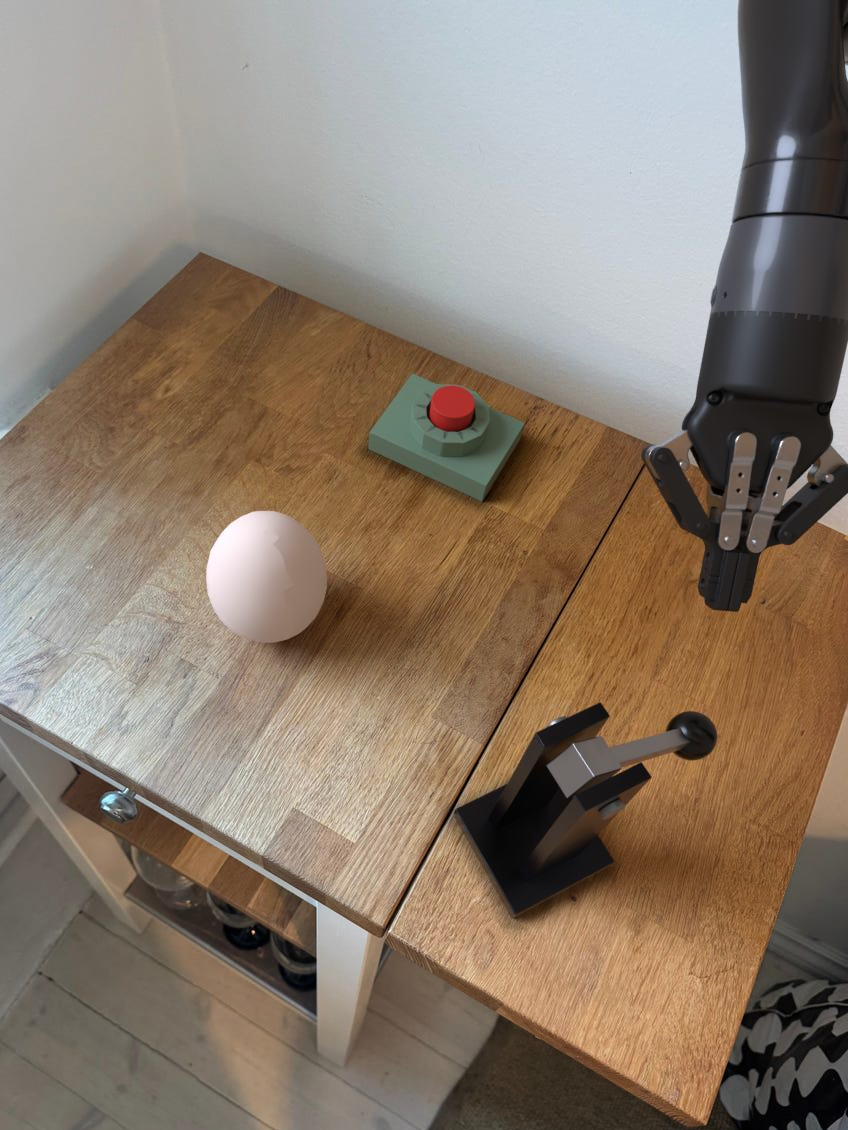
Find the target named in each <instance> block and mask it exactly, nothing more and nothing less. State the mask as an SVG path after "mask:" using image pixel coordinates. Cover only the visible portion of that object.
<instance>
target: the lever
mask: <svg viewBox="0 0 848 1130" xmlns="http://www.w3.org/2000/svg"><path fill="white" fill-rule="evenodd" d="M717 743H718V731H717V728H716V725H715V723H714V722H713V721H712V720H711V718H709V716H707V715H705V714H704V713H701V712H699V711H694V710H686V711H682V712H680V713H677V714H675V715H674V716H673V717H672V718H671V719H670V720H669V721H668V723H667V725H666V728H665V731H663V732H660V733H657V734H654V735H649V736H646V737H642V738H639V739H635V740H631V741H628V742H625V743H619V744H617V745H614V746H609V745H608V743H607V742H606V740H605V739H604V737H603V736H602V735H599V736H596V737H595V738H591V739H587V740H583V741H579V742H575V743H572V744H571V745H570V746H569V747H568V748H566V749H565V750H564V751H563V752H562V753H560V754H559V755H558V756H557V757H556V758H554V759H553V760H552V761H551V762H550V763H549V764H547V767H548V769H549V771H550V772H551V774H552V775H553V777H554V779H555V780H556V782H557V783H558V785H559V787H560V788H561V790H562V791H563V793H564V794H565V796H566V798H570V797H573V796H575V795H577V794H579V793H581V792H583V791H585V790H587V789H589V788H591V787H593V786H595V785H597V784H599V783H601V782H603V781H605V780H607V779H609V778H611V777H613V776H615V775H617V774H618V773H620V772H621V771H622V770H623V768H625V767H629V766H633V765H636V764H638V763H640V762H642V763H643V762H646V761H648V760H652V759H655V758H659V757H661V756H662V757H663V756H664V755H669V754H671V753H672V754H673V755H674V756H676V757H677V758H679V759H682V760H685V761H690V762H691V761H692V762H693V761H699V760H703V759H704V758H707V757H708V756H709V755H710V754H712V753H713V751H714V750H715V748H716V745H717Z"/></svg>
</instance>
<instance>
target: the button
mask: <svg viewBox="0 0 848 1130" xmlns="http://www.w3.org/2000/svg"><path fill="white" fill-rule="evenodd" d="M453 385H454V384H450V386H444V387H441V388H439V389H438V390H436V391H435V393H434V394H433V396H432V401H431V406H430V412H429V416H430V419H431V421H432V423H433V424H434V425H435V426H436V427H438V428H439V429H441V430H444V431H447V432H458V431H461V430H463V429H465V428H467V427H468V426H469V424H470V423H471V420H472V416H473V412H474V407H475V400H474V398H473V396H472V394H471V393H470V392H469V391H467V390H466V389H464V388H462V387H459V386H453Z"/></svg>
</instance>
